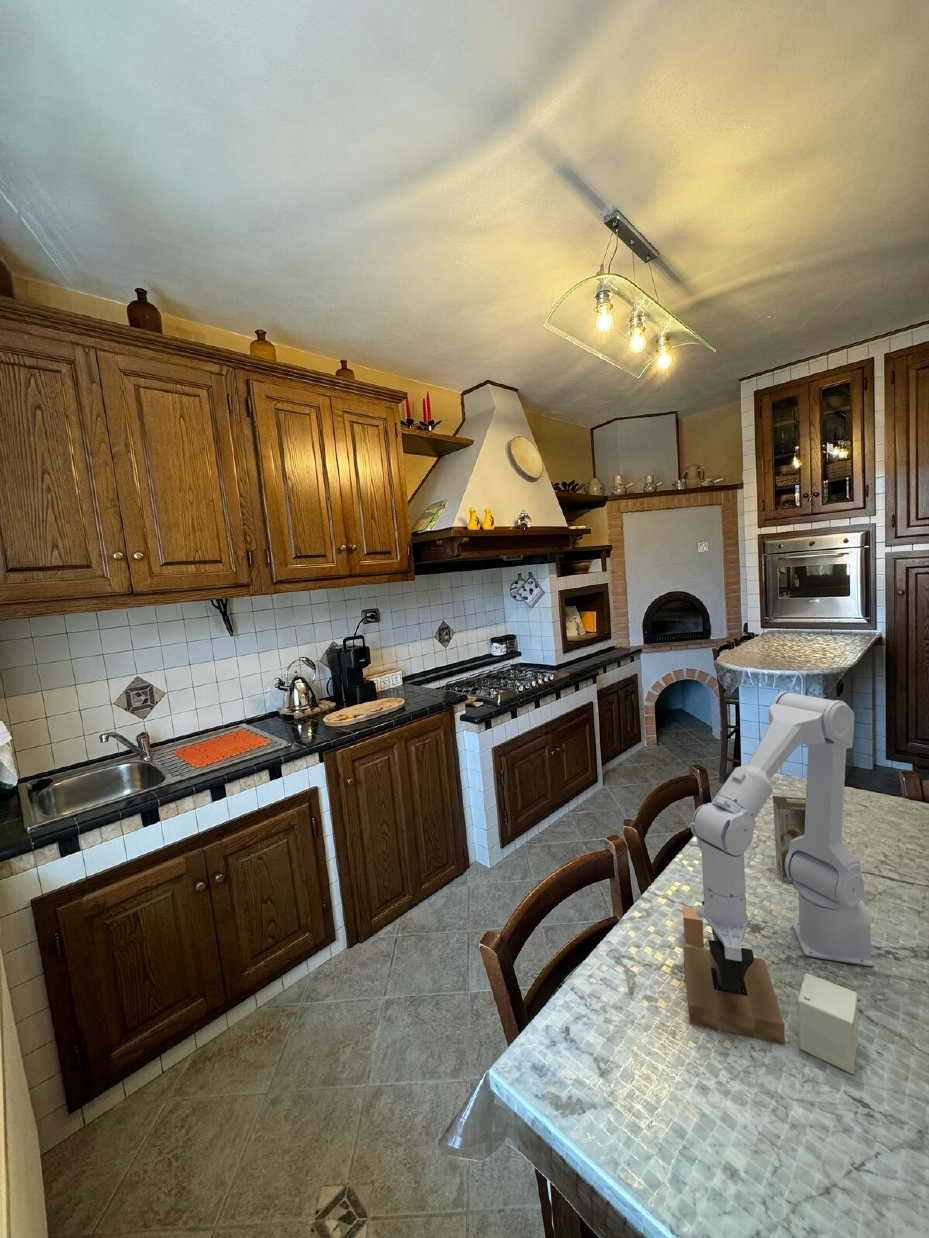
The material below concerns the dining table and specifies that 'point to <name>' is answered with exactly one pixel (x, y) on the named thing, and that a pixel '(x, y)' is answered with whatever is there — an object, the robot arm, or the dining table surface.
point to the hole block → (732, 999)
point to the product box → (828, 1022)
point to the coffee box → (787, 828)
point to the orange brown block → (692, 927)
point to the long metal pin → (718, 976)
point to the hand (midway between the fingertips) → (727, 969)
